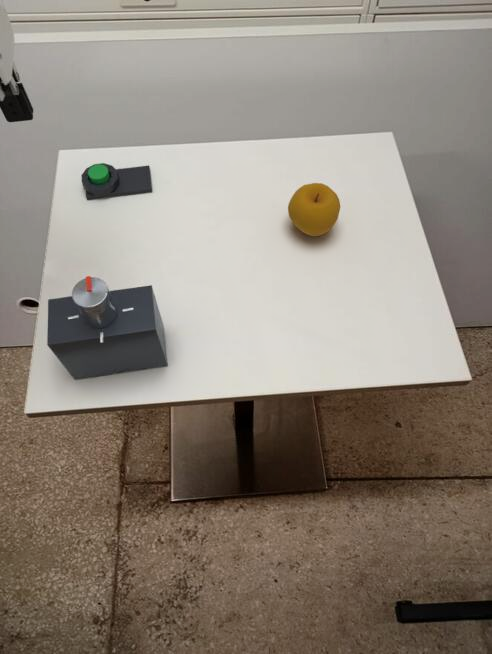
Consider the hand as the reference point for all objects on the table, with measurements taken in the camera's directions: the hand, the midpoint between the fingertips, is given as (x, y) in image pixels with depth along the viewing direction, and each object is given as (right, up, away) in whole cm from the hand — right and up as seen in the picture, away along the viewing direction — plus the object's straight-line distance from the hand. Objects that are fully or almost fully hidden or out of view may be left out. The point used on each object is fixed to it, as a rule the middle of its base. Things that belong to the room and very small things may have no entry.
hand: (20, 116), depth 63 cm
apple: (+40, -9, +26) cm, 48 cm away
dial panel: (+9, -30, +15) cm, 35 cm away
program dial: (+9, -25, +4) cm, 26 cm away
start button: (+1, +1, +29) cm, 29 cm away
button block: (+4, 0, +31) cm, 31 cm away
